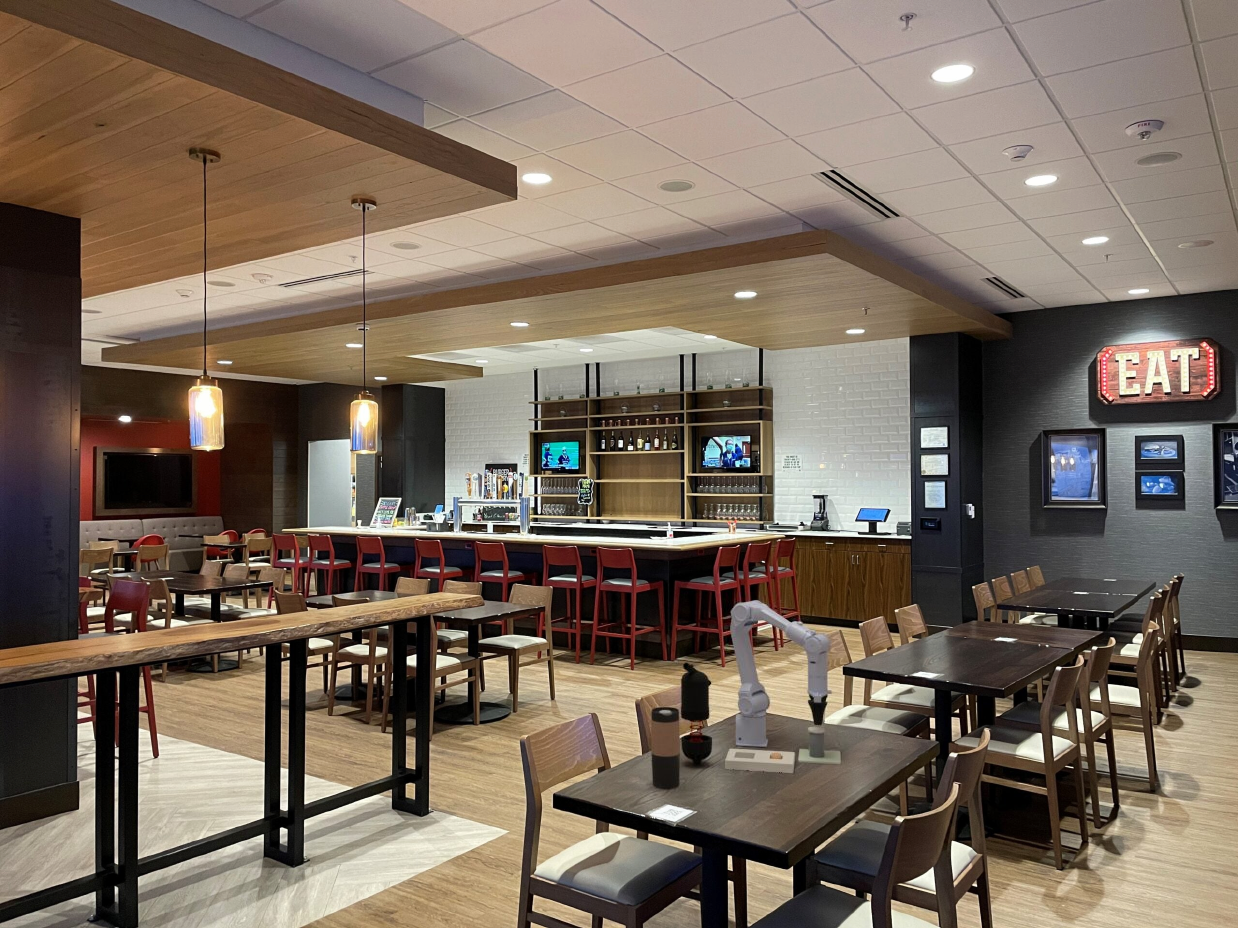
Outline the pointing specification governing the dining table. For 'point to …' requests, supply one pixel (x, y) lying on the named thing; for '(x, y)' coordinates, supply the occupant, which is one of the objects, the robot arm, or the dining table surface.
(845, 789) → the dining table surface
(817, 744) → the cylinder
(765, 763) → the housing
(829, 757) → the mat
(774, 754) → the plunger
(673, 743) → the travel mug
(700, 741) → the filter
